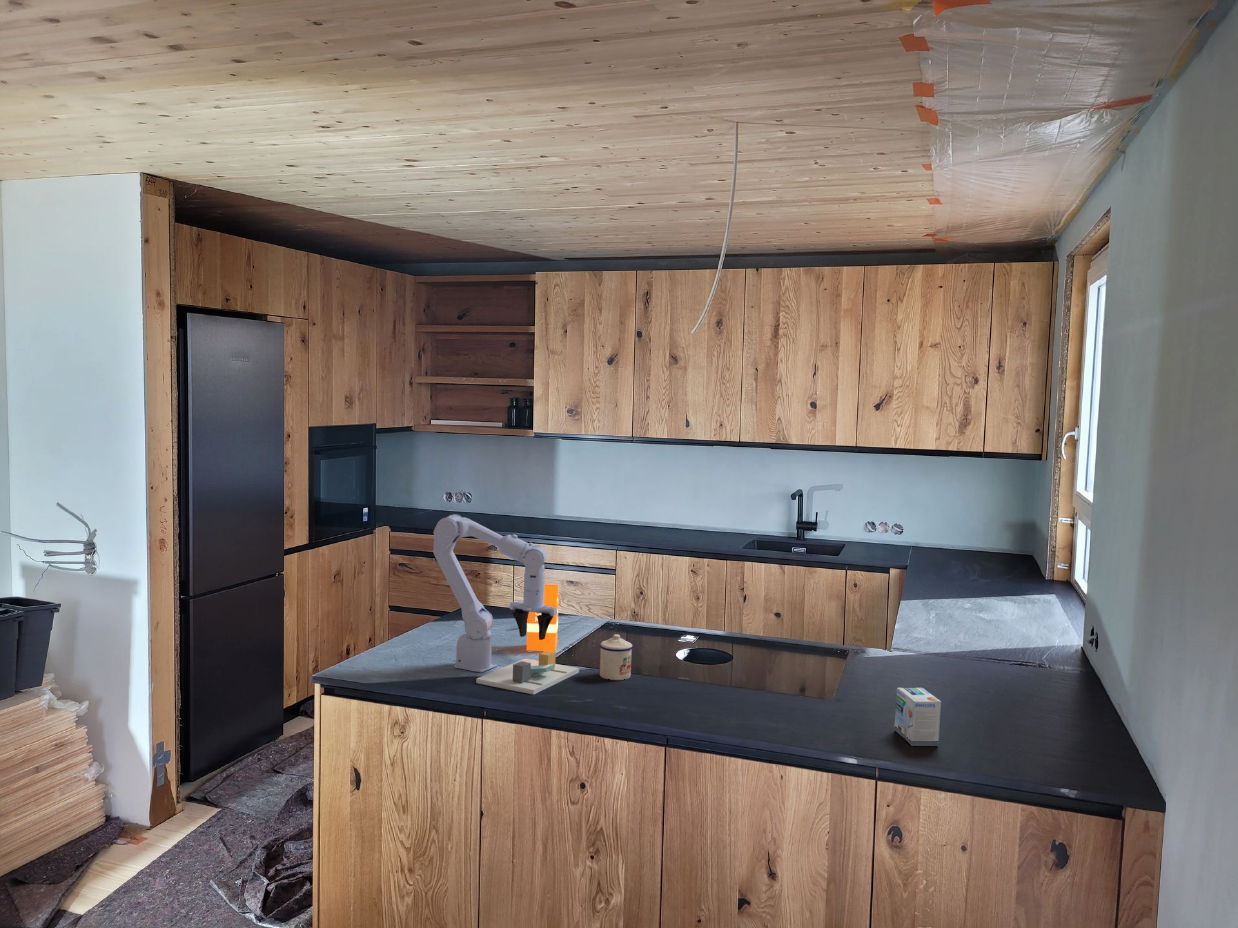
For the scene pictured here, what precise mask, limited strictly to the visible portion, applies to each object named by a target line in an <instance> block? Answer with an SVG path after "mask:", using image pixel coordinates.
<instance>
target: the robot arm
mask: <svg viewBox="0 0 1238 928" xmlns="http://www.w3.org/2000/svg"><path fill="white" fill-rule="evenodd" d="M465 537H466V538H467V537H474V538H476V539H478V540H481V541H483V542H486V543H488V544H491V545H493V546H495V547H498V550H499V553H500V554H502V555H504V556H506V557H508V558H510V559H513V560H515V561H517V562H519V563H522V564H523V565H524V573H523V601H521V602H520V601H511V602H509V610H513V612H512V617H513V618H514V620H515V622H516V624H517V627H518V628H517V629H518V632H519V633H518V634H519V636H520V637H521V638H524V637H527V622H528V614H529V612H534V613H541V615H539V616H537V619H538V624H539V640H543V639H545V636H546V632H547V629H548V626H549V624H550V622H551V620H552V619H553V617H554V616H555V615H557V608H554V607H550V606H547V605H544V584H545V576H546V574H545V570H546V569H545V562H546V560H547V551H545V549H544V548H542V546H540V545H539V544H538V545H537V544H536V545H534V543H533V542H529V543H528V542H527V541H525V540H522V539H520V538H518V535H516V534H515V533H514V534H512V535H511V534H507V535H501V534H499V533H497V532H495V531H494V530H491V529H490V528H487V527H486V526H484V525H481V524H480V523H478V522H477V521H474V520H472V519H470V518H468V517H463V516H461V515H460V514H456V513H454V514H450V515H448V516H446V517H443V518H441V519H440V520H438V522H437V524H436V526H435V527H434V530H433V550H432V552H433V555H434V557H435V560H436V561H437V564H438V566H439V568H440V570H441V571H442V574H443V575H444V577H445V579H446V581H447V583H448V585H449V588H450V589H451V591H452V593H453V595H454V597H455V598H456V601H457V603H458V606H459V607H460V609H461V616H462V617H461V618H462V620H463V622H464V632H465V633H466V634H465V633H464V634H461V635H460V636H459V638H458V639H457V642H456V648H455V649H456V655H455V656H456V657H455V664H454V666H453V667H454V668H455V669H462V670H466V671H471V672H477V673H484V672H487V671H489V670H491V669H494V668H496V667H498V664H496V663H492V645H493V644H492V640H493V639H492V638H493V637H492V636H493V634H492V632H491V630H490V629H492V627H493V625H494V617H493V615H492V613H491V612H490V611H488V610H487V609H486V608H485V606H484V605H483V603H482V602H481V601H479V600H478V598H477V595H476V594H475V592H474V590H473V587H472V586H471V584H470V582H469V580H468V577H467V576H466V574H465V572H464V570H463V568H462V566H461V564H460V562H459V561H458V558H457V556H456V554H455V553H454V548H455V547H456V544H457V542H458V540H459V538H465Z"/></svg>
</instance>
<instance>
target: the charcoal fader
mask: <svg viewBox="0 0 1238 928" xmlns="http://www.w3.org/2000/svg"><path fill="white" fill-rule="evenodd" d="M512 664H513V663H512ZM530 671H531V663H528V662H523V661H521V662H518V663H516V664H513V681H515V682H520V683H523V682H525V681H527V680H529V679H530Z"/></svg>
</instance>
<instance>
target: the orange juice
mask: <svg viewBox="0 0 1238 928" xmlns="http://www.w3.org/2000/svg"><path fill="white" fill-rule="evenodd" d="M559 601H560V600H559V584H545V583H544V605H547V606H550V607H554V608H557V615H555V616H554V617H553V619H552V620H551V622H550V624H549V626H548V629H547V632H546V636H545V639H543V640H539V624H538V619H537V616H539V615H541V613H534V612H529V614H528V619H527V632H526V651H527V650H537V651H551V652H556V651H555V650H557V648H556V647H558V630H559V629H558V628H559V603H560V602H559Z"/></svg>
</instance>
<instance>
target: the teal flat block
mask: <svg viewBox="0 0 1238 928" xmlns="http://www.w3.org/2000/svg"><path fill="white" fill-rule="evenodd" d="M554 668H555V667H554V665H553V664H548V665H538V666H531V671H530V673H538V672H547V671H550V670H552V669H554Z"/></svg>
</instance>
